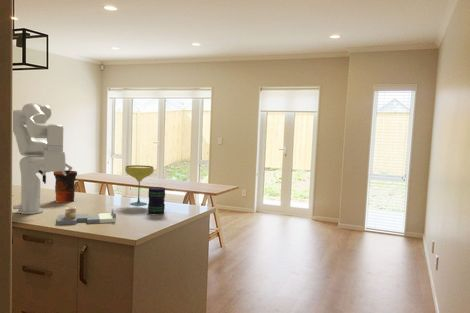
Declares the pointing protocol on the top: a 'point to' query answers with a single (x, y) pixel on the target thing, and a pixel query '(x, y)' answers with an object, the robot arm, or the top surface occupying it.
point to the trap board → (88, 218)
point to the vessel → (65, 186)
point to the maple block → (70, 212)
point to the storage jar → (156, 200)
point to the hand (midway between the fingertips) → (54, 183)
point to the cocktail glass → (139, 177)
